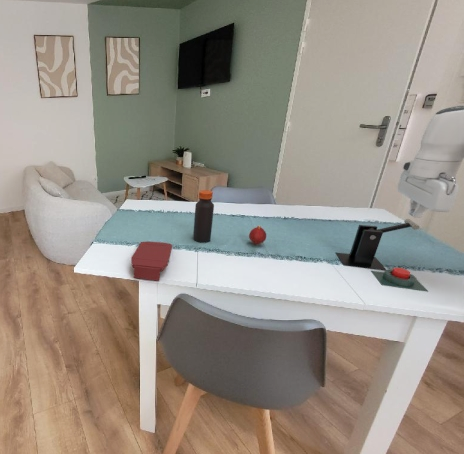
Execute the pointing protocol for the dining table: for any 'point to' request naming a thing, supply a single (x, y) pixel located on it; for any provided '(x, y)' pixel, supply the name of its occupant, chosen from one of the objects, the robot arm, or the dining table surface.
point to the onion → (257, 235)
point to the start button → (400, 273)
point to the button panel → (398, 281)
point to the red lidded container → (150, 259)
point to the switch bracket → (363, 249)
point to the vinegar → (203, 217)
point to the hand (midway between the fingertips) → (414, 216)
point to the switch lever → (397, 226)
